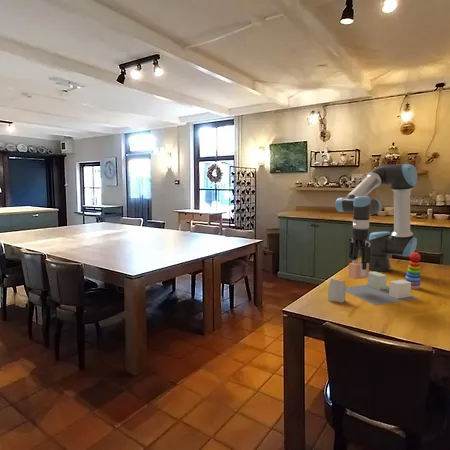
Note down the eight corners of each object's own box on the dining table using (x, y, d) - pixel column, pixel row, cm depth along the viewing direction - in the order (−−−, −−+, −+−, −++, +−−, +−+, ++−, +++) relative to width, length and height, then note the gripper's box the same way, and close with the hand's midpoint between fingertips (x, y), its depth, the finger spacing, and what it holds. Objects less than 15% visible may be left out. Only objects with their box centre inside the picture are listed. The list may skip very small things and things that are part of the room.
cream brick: (397, 298, 171) (398, 284, 170) (389, 295, 176) (389, 281, 175) (410, 296, 174) (411, 282, 173) (401, 293, 179) (402, 279, 178)
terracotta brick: (355, 279, 178) (355, 265, 177) (348, 276, 182) (349, 263, 181) (368, 277, 181) (369, 263, 180) (361, 274, 185) (361, 261, 184)
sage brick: (367, 285, 192) (367, 272, 191) (374, 284, 194) (375, 271, 193) (378, 289, 184) (379, 276, 183) (386, 288, 186) (386, 275, 185)
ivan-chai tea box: (341, 303, 166) (342, 282, 164) (327, 300, 170) (328, 279, 169) (345, 301, 169) (346, 280, 167) (331, 298, 173) (332, 277, 172)
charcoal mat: (338, 289, 187) (338, 288, 187) (378, 283, 196) (378, 283, 196) (375, 306, 163) (375, 305, 162) (419, 299, 172) (419, 298, 172)
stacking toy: (401, 287, 190) (404, 252, 187) (406, 284, 195) (408, 249, 193) (418, 290, 184) (420, 254, 182) (422, 287, 190) (425, 252, 187)
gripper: (342, 225, 185) (340, 270, 188) (367, 231, 168) (365, 279, 172) (354, 225, 187) (352, 268, 191) (380, 230, 171) (377, 278, 174)
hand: (358, 274), depth 181 cm, fingers closed on terracotta brick, 5 cm apart
